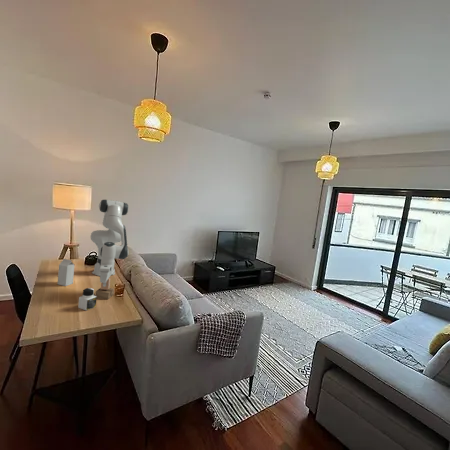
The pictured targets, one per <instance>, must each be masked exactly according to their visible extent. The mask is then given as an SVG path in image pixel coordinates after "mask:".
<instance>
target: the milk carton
mask: <svg viewBox="0 0 450 450" xmlns="http://www.w3.org/2000/svg"><path fill="white" fill-rule="evenodd" d="M74 276H75V264H74V263H73V262H72V259H66V258H62V261H61V262H60V263H59V264H58V274H57V285H58V286H63V287H67V286H69V285H72V284H74Z"/></svg>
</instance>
